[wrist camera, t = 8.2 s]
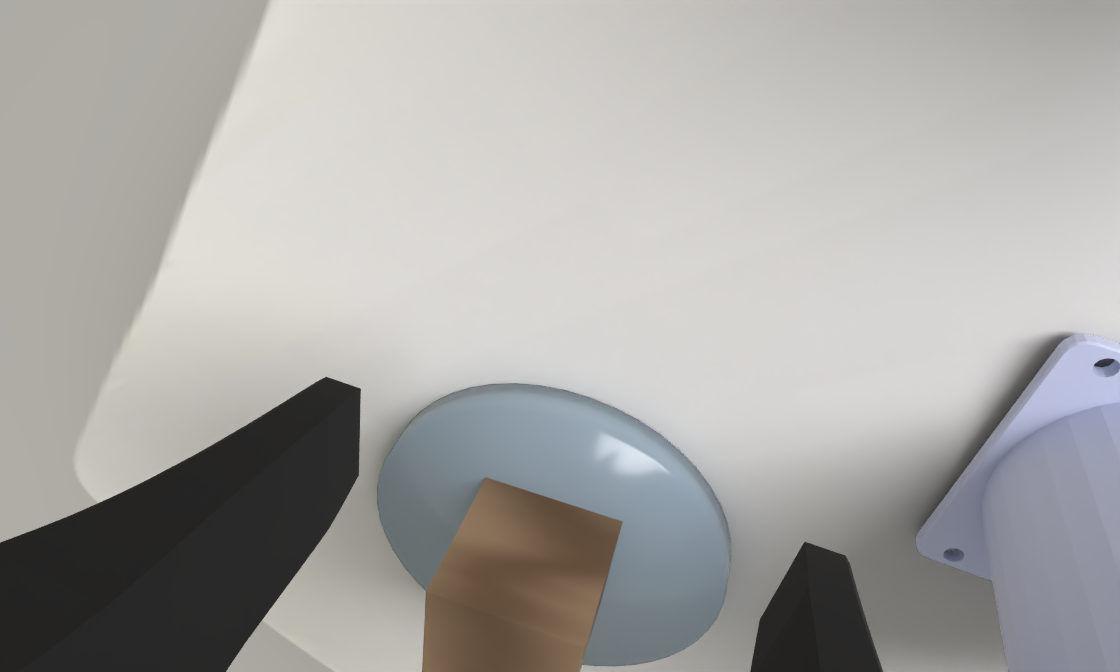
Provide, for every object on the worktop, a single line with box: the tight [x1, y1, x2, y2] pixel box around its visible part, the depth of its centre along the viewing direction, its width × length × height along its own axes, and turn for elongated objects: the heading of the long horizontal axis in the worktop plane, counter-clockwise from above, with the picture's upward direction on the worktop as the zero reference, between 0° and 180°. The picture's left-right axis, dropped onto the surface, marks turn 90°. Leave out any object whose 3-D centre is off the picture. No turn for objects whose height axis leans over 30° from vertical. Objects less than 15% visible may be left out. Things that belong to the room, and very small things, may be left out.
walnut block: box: [422, 477, 623, 672], centre depth 24 cm, size 4×4×4 cm
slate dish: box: [377, 384, 731, 666], centre depth 27 cm, size 12×12×1 cm
